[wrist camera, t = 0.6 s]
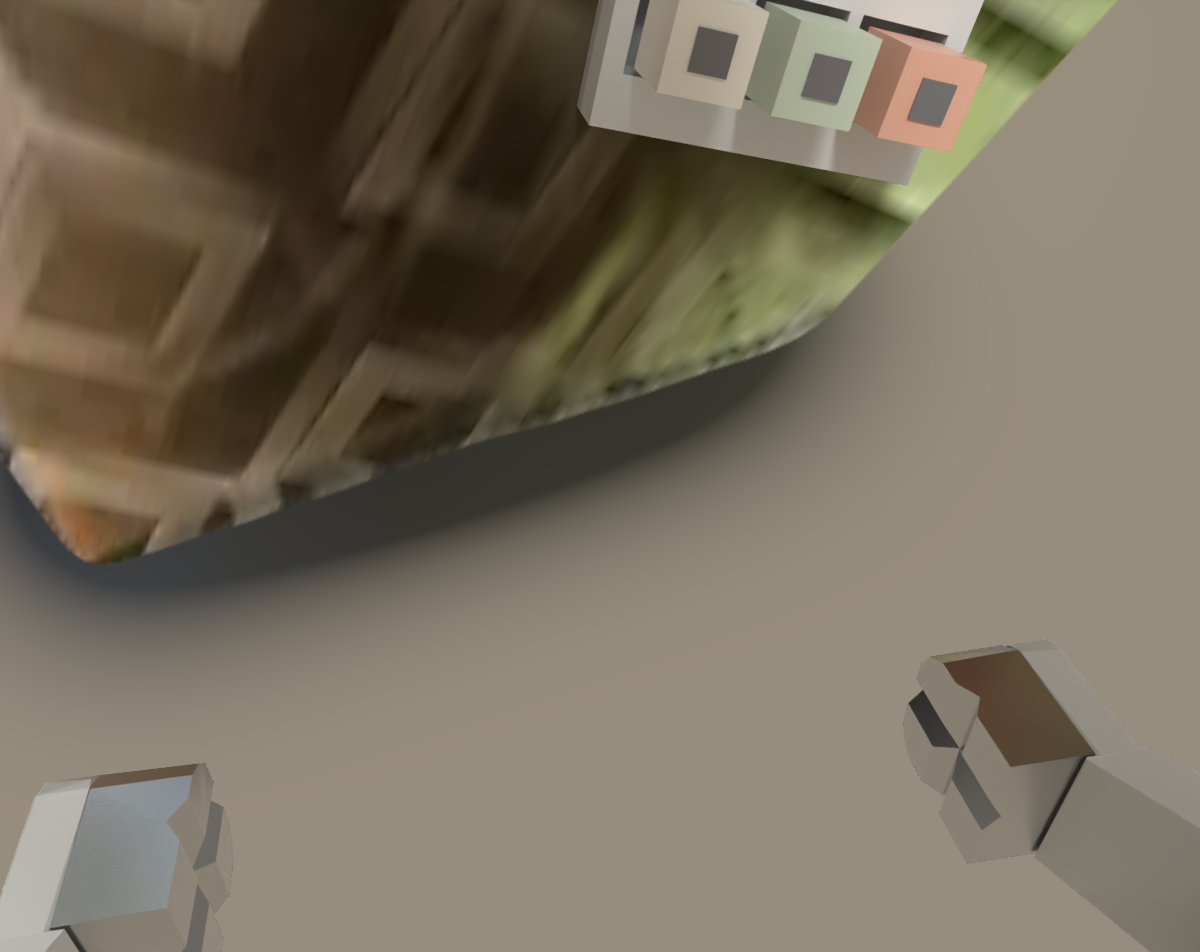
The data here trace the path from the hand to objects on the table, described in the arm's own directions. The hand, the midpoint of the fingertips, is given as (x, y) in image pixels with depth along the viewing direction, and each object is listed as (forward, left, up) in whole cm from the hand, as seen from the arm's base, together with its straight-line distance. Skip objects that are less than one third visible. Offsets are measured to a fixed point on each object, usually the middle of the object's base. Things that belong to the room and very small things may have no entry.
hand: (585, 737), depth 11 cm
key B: (-2, +17, -39) cm, 42 cm away
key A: (-2, +11, -39) cm, 40 cm away
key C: (-2, +22, -39) cm, 45 cm away
